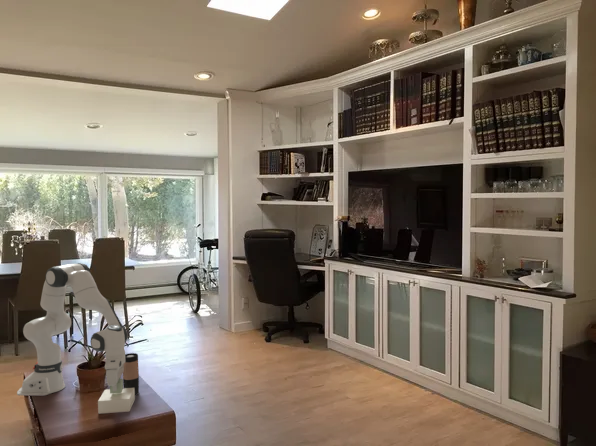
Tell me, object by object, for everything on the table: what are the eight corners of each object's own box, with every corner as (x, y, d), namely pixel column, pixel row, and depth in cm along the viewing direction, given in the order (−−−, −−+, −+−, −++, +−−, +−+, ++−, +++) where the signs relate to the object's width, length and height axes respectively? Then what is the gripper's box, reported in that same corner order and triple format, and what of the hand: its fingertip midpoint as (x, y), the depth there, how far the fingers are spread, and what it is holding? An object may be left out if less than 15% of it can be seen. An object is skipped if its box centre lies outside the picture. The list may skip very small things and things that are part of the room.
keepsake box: (98, 413, 228) (97, 401, 228) (105, 401, 242) (105, 389, 241) (129, 411, 230) (129, 398, 230) (134, 399, 244) (134, 387, 244)
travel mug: (120, 395, 250) (119, 356, 249) (131, 389, 256) (130, 352, 256) (131, 397, 246) (129, 358, 245) (142, 392, 253) (141, 354, 252)
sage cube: (110, 393, 233) (109, 383, 233) (112, 389, 238) (112, 379, 237) (121, 392, 234) (120, 382, 233) (123, 388, 238) (122, 378, 238)
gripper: (113, 353, 245) (114, 380, 245) (103, 367, 224) (104, 396, 225) (126, 352, 246) (127, 379, 246) (118, 366, 225) (119, 395, 226)
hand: (116, 387), depth 236 cm, fingers closed on sage cube, 5 cm apart
